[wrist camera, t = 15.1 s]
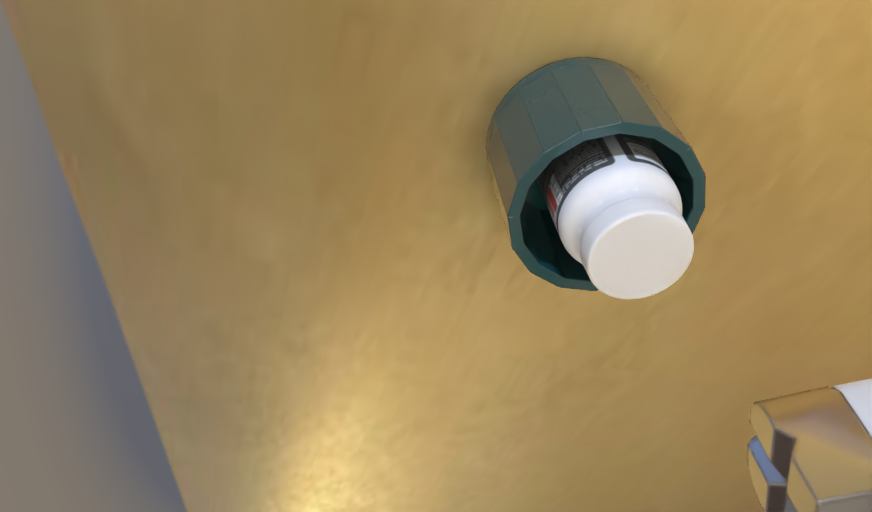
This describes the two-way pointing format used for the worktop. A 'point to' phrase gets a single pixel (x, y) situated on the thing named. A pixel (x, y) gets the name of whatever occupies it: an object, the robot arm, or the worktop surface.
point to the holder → (561, 131)
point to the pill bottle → (619, 215)
